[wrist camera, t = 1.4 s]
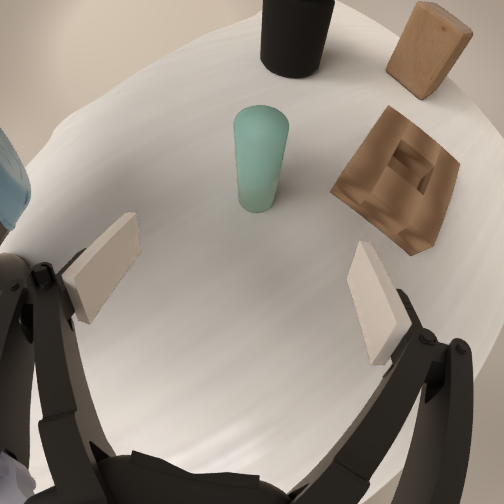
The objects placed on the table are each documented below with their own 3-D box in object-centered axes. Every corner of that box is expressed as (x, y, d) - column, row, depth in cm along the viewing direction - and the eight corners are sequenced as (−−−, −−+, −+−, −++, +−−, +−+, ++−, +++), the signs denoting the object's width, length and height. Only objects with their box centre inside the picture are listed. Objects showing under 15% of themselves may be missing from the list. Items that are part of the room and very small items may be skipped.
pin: (231, 199, 33) (222, 128, 20) (253, 175, 34) (255, 98, 21) (260, 219, 33) (267, 155, 19) (281, 193, 34) (299, 121, 20)
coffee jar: (325, 61, 41) (345, -14, 23) (306, 88, 38) (327, -1, 21) (274, 43, 42) (281, -30, 24) (249, 68, 39) (250, -18, 22)
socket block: (329, 192, 34) (342, 171, 29) (375, 126, 37) (388, 105, 32) (410, 256, 32) (433, 245, 27) (441, 179, 35) (460, 163, 30)
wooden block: (420, 102, 39) (465, 34, 20) (382, 70, 41) (415, -1, 22) (436, 90, 41) (475, 32, 21) (402, 62, 43) (433, 1, 23)
